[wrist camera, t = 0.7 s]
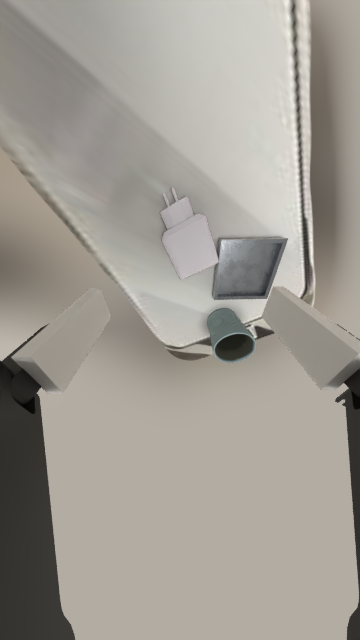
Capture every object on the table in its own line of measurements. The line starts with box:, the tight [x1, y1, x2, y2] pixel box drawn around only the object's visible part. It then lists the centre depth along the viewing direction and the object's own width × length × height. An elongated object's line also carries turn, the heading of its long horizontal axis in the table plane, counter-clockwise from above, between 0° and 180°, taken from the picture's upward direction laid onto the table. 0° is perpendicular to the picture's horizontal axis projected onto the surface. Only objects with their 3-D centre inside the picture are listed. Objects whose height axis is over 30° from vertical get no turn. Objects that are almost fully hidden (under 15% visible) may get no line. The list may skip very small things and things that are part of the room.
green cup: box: [208, 308, 256, 363], centre depth 40 cm, size 10×10×12 cm
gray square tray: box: [212, 237, 288, 300], centre depth 35 cm, size 14×14×2 cm
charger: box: [160, 187, 219, 279], centre depth 30 cm, size 5×9×15 cm
